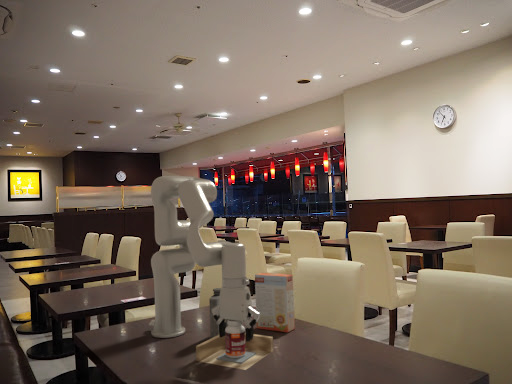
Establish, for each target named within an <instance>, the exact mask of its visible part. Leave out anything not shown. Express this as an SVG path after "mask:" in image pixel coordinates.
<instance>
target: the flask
mask: <svg viewBox="0 0 512 384" xmlns="http://www.w3.org/2000/svg"><path fill="white" fill-rule="evenodd" d="M220 290H221V287H218V288H217V287H215V288H212V291H213V295H211V296H210V297H209V302H208V303H209V328H210V329H209V331H210V334H209V335H210V336H209V337H210V339H211V338H213V337H215V336H217V335H219V324H217V321H216V320H215V318H214V315H213V313H212V311H211V310H212V309H213V308H215V307H217V306H218V305H219V297H220ZM218 314H219V310H218ZM225 322H226V327H227V326H228V324H227V320H225Z"/></svg>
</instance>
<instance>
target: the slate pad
mask: <svg viewBox="0 0 512 384" xmlns="http://www.w3.org/2000/svg"><path fill="white" fill-rule="evenodd" d="M254 355H256V353H254V352H248V351H245V355H244V356H243V357H240V358H230V357H227V356H226V353H224V354H222V355H221V356H219V357H217V358H216V359H217V360H223V361H228V362H234V363H239V364H242V363H244V362H245V361H247V360H248V359H250V358H251V357H253V356H254Z"/></svg>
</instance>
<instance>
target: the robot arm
mask: <svg viewBox="0 0 512 384" xmlns="http://www.w3.org/2000/svg"><path fill="white" fill-rule="evenodd" d="M150 196H151V201H152V206H153V210H154V239H155V242H156V244H157V245H158V246H161V247H169V246H170V247H171V246H179V247H178V248H168V249H167V248H166V249H162V250H161V249H160V250H158V251H156V252H155V253H153V254H152V256H151V259H150V266H151V269H152V276H153V285H154V286H153V287H154V289H153V290H154V313H155V314H154V317H155V318H154V319H151V320H150V322H149V323H148V326H149V327H153V329H152V330H151V331H150V332H151V336H152V337H154V338H158V339H160V338H161V339H165V338H166V339H168V338H169V339H170V338H175V337H179V336H182V335H183V334H184V333H186V327H184V326H182V318H181V317H182V315H181V314H182V311H181V310H182V309H181V308H182V307H181V306H182V305H181V285H180V282H179V281H178V279H177V278H176V276H175V275H176V274H181V273H186V272H191V271H193V270H194V268H195V267H196V265H198V266H199V267H202V268H206V267H207V268H208V267H214V266H219V265H220V266H221V277H222V278H221V281H222V283H221V285H222V286H221V287H220V288H221V290H220V297H219V305H218V306H217V307H215V308H213V309H212V310H211V311H212V313H213V315H214V318H215V320H216V321H217V324H219V337H223V336H225V329H226V322H225V320H234V321H242V323H244V325H245V326H246V328H245V333H246V341H250V340H252V339H253V334H254V327H255V325H256V323H257V322H258V319H259V317H260V313H259V312H257V311H256V308H255V309H254V308H253V301H252V296H251V295H252V293H251V291H250V290H251V289H250V288H249V286H247V285H250V280H249V279H248V278H247V266H246V265H247V264H246V263H247V262H246V260H247V259H246V247H245V244H243V243H241V242H231V241H226V240H222V241H213V242H212V241H211V242H204V240H203V238H202V236H201V233H200V228H203V227H204V226H205V225H208V224H209V222H211V221H212V220H213V218H214V215H215V213H214V210H213V209H212V206H211V205H210V203H213V202H214V201H216V198H217V196H218V190H217V186H216V184H215V183H214V182H213V181H211V180H210V179H205V178H201V177H196V176H187V175H186V176H185V175H182V176H181V175H163V176H158V177H157V178H155V179H154V180H153V182H152V184H151V187H150ZM173 199H179V200H180V202H181V204H182V206H183V208H184V211H185V213H186V215H187V217H188V220H185V219H183V220H178V209H177V206H176V204H175V202H174V201H173ZM218 310H219V314H218ZM252 318H253V319H252Z"/></svg>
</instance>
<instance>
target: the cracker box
mask: <svg viewBox="0 0 512 384" xmlns="http://www.w3.org/2000/svg"><path fill="white" fill-rule="evenodd" d="M254 284H255V285H254V287H255V289H254V290H255V295H254V296H255V310H256V311H257V312H259V313H260V317H259V319H258V322H257V323H256V324H255V325H256V329H260V330H266V331H274V332H275V331H276V332H282V333H290V332H292V331H293V330H295V329H296V326H295V325H296V324H295V323H296V322H295V320H296V319H295V300H294V299H295V297H294V274H292V273H290V274H289V273H274V272H260V273H257V274H255V275H254Z"/></svg>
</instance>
